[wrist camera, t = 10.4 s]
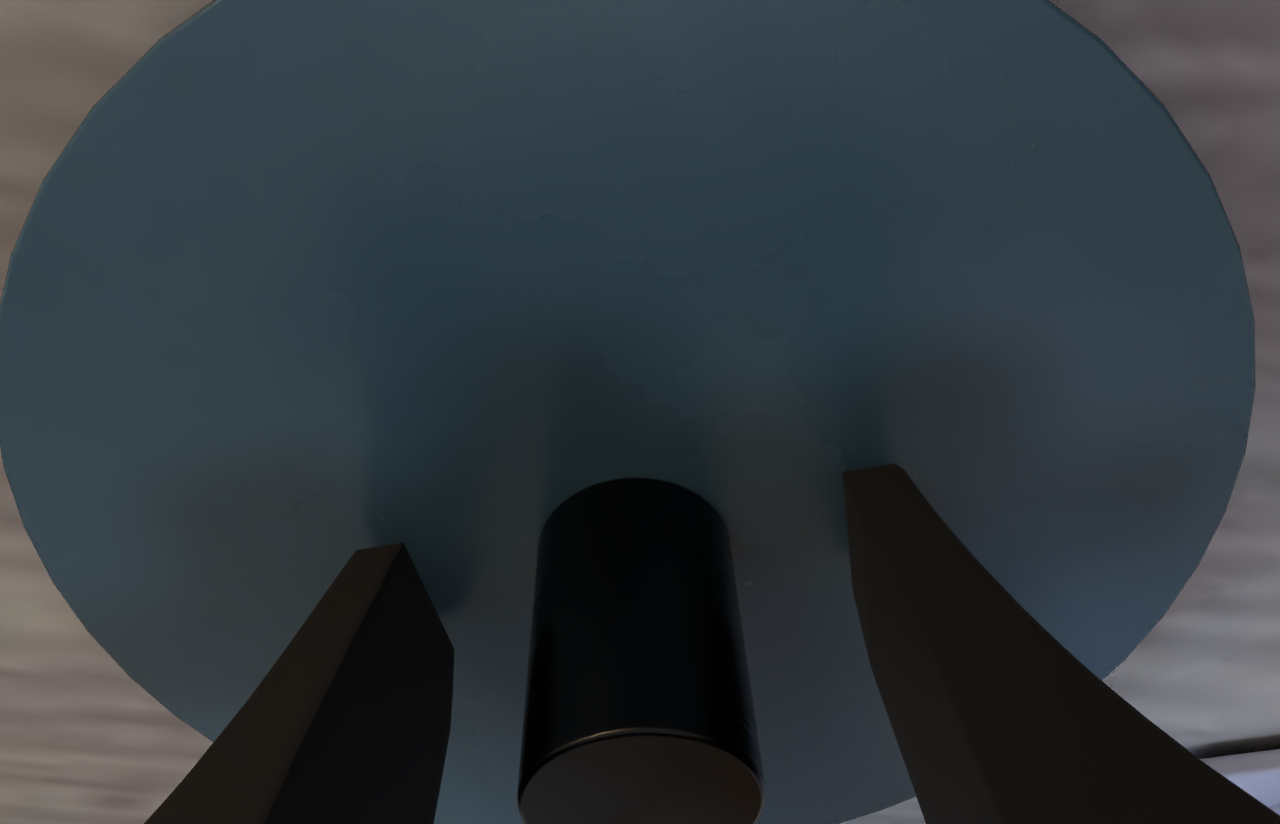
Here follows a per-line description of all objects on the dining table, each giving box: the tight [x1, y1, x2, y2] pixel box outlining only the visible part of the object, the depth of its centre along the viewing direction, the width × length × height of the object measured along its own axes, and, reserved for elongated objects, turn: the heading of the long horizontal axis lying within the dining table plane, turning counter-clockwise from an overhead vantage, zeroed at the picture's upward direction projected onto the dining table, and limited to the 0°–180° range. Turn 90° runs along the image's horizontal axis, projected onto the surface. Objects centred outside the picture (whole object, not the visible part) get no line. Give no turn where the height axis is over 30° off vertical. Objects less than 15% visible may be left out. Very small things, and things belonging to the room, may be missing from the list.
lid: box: [0, 0, 1255, 824], centre depth 11 cm, size 15×15×5 cm
